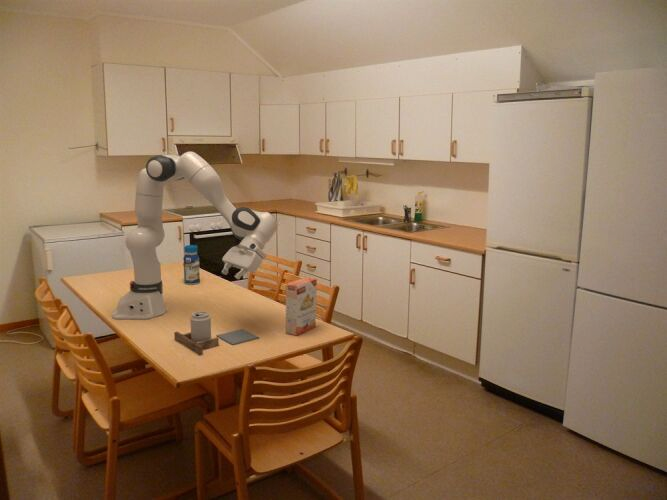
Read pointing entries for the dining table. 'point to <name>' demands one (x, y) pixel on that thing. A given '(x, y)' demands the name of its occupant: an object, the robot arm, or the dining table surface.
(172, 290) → the dining table surface
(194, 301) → the dining table surface
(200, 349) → the walnut cradle
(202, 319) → the can
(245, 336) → the slate mat
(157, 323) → the dining table surface
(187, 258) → the beverage bottle
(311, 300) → the cracker box
